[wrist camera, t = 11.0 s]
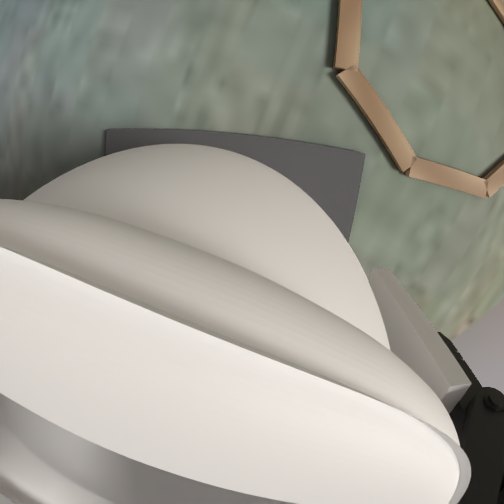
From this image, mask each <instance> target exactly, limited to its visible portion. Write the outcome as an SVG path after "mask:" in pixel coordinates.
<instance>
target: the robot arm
mask: <svg viewBox="0 0 504 504" xmlns="http://www.w3.org/2000/svg"><path fill="white" fill-rule="evenodd" d="M369 284H370V286H371V289H372V291H373V294H374V296H375V299H376V301H377V304H378V307H379V310H380V313H381V316H382V319H383V322H384V326H385V329H386V333H387V337H388V341H389V345H390V350H391V352H393V353H394V354H395V355H396V356H397V357H399V358H400V359H401V360H402V361H403V362H404V363H406V364H407V365H408V366H409V367H410V368H411V369H412V370H413V371H414V372H415V373H416V374H417V375H418V376H419V377H420V378H421V379H422V380H423V381H424V382H425V383H426V384H427V385H428V386H429V387H430V388H431V389H432V390H433V392H434V393H435V394H436V395H437V396H438V398H439V399H440V401H441V402H442V403H443V405H444V407H445V408H446V410H447V412H448V414H449V416H450V418H451V420H452V422H453V424H454V427H455V429H456V432H457V435H458V439H459V443H460V447H461V448H462V449H463V451H464V452H465V453H466V455H467V457H468V459H469V462H470V465H471V478H470V482H469V485H468V488H467V490H466V492H465V493H464V495H463V496H462V498H461V499H460V501H459V502H458V503H457V504H504V395H503V394H502V393H501V392H500V391H498V390H497V389H495V388H491V387H483V388H482V386H481V384H480V383H479V381H478V380H477V378H476V377H475V375H474V374H473V373H472V371H471V369H470V368H469V366H468V365H467V364H466V362H465V361H463V358H462V356H461V355H460V353H457V351H458V350H457V349H456V348H455V346H454V345H453V343H452V342H451V341H450V340H449V339H448V338H447V337H445V336H444V335H443V334H442V333H440V332H437V331H436V330H435V329H434V327H433V326H432V324H431V323H430V322H429V320H428V319H427V318H426V316H425V315H424V314H423V312H422V311H421V310H420V308H419V307H418V306H417V304H416V303H415V302H414V300H413V299H412V298H411V296H410V295H409V294H408V293H407V291H406V290H405V289H404V287H403V286H402V285H401V284H400V282H399V281H398V280H397V279H396V277H395V276H394V275H393V274H392V272H391V271H390V270H389V269H382V268H372V271H371V275H370V278H369Z"/></svg>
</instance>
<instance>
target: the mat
mask: <svg viewBox="0 0 504 504" xmlns="http://www.w3.org/2000/svg"><path fill="white" fill-rule="evenodd" d="M159 144H195V145H204V146H210V147H215V148H220V149H224V150H228V151H232V152H235V153H238V154H241V155H244V156H246V157H249V158H251V159H254V160H256V161H258V162H260V163H262V164H264V165H266V166H268V167H270V168H272V169H273V170H275V171H277V172H278V173H280V174H282V175H283V176H285V177H286V178H287V179H289V180H290V181H292V182H293V183H294V184H296V185H297V186H298V187H299V188H301V189H302V190H303V191H304V192H305V193H306V194H307V195H309V196H310V197H311V198H312V199H313V200H314V201H315V202H316V203H317V204H318V205H319V206H320V207H321V208H322V209H323V211H324V212H325V213H326V214H327V215H328V216H329V218H330V219H331V220H332V221H333V222H334V224H335V225H336V226H337V228H338V229H339V230H340V232H341V233H342V235H343V236H344V238H345V239H346V241H347V242H348V241H349V237H350V232H351V227H352V223H353V218H354V213H355V208H356V203H357V198H358V193H359V188H360V182H361V176H362V171H363V165H364V159H365V154H364V153H360V152H355V151H350V150H345V149H340V148H335V147H329V146H324V145H318V144H312V143H306V142H299V141H293V140H286V139H279V138H271V137H263V136H254V135H245V134H235V133H223V132H210V131H195V130H174V129H107V130H106V149H105V156H107V155H110V154H113V153H116V152H120V151H124V150H128V149H132V148H137V147H143V146H150V145H159Z"/></svg>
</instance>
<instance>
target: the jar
mask: <svg viewBox="0 0 504 504" xmlns="http://www.w3.org/2000/svg"><path fill="white" fill-rule="evenodd" d="M470 478H471V465H470V462H469V459H468V457H467V455H466V453H465V452H464V451H463V449H462V448H461V447H460V443H459V439H458V435H457V432H456V429H455V427H454V424H453V422H452V420H451V418H450V416H449V414H448V412H447V410H446V408H445V407H444V405H443V403H442V402H441V401H440V399H439V398H438V396H437V395H436V394H435V393H434V392H433V390H432V389H431V388H430V387H429V386H428V385H427V384H426V383H425V382H424V381H423V380H422V379H421V378H420V377H419V376H418V375H417V374H416V373H415V372H414V371H413V370H412V369H411V368H410V367H409V366H408V365H407V364H406V363H404V362H403V361H402V360H401V359H400V358H399V357H397V356H396V355H395V354H394V353H393V352H391V350H390V345H389V341H388V337H387V333H386V329H385V326H384V322H383V319H382V316H381V313H380V310H379V307H378V304H377V301H376V299H375V296H374V294H373V291H372V289H371V286H370V284H369V282H368V279H367V277H366V275H365V273H364V271H363V269H362V267H361V265H360V263H359V261H358V259H357V257H356V256H355V254H354V252H353V250H352V249H351V247H350V245H349V244H348V242H347V241H346V239H345V238H344V236H343V235H342V233H341V232H340V230H339V229H338V228H337V226H336V225H335V224H334V222H333V221H332V220H331V219H330V218H329V216H328V215H327V214H326V213H325V212H324V211H323V209H322V208H321V207H320V206H319V205H318V204H317V203H316V202H315V201H314V200H313V199H312V198H311V197H310V196H309V195H307V194H306V193H305V192H304V191H303V190H302V189H301V188H299V187H298V186H297V185H296V184H294V183H293V182H292V181H290V180H289V179H287V178H286V177H285V176H283V175H282V174H280V173H278V172H277V171H275V170H273V169H272V168H270V167H268V166H266V165H264V164H262V163H260V162H258V161H256V160H254V159H251V158H249V157H246V156H244V155H241V154H238V153H235V152H232V151H228V150H224V149H220V148H215V147H210V146H204V145H195V144H159V145H150V146H143V147H137V148H132V149H128V150H124V151H120V152H116V153H113V154H110V155H107V156H104V157H101V158H98V159H95V160H93V161H90V162H88V163H86V164H83V165H81V166H79V167H77V168H75V169H73V170H71V171H69V172H67V173H65V174H63V175H61V176H59V177H57V178H56V179H54V180H52V181H51V182H49V183H47V184H46V185H44V186H42V187H41V188H39V189H38V190H36V191H35V192H33V193H32V194H31V195H29V196H28V197H27V198H25V199H24V200H23V201H22V200H12V199H0V493H1V494H2V495H4V496H5V497H6V498H8V499H9V500H10V501H12V502H13V503H15V504H457V503H458V502H459V501H460V499H461V498H462V496H463V495H464V493H465V492H466V490H467V488H468V485H469V482H470Z"/></svg>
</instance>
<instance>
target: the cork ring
mask: <svg viewBox="0 0 504 504" xmlns="http://www.w3.org/2000/svg"><path fill="white" fill-rule="evenodd" d="M488 1H489V3H490V4H491V6H492V7H493V9H494V10H495V12H496V13H497V15H498V16H499V18H500V19H501V21H502V23H503V24H504V3H503V2H502V0H488ZM361 15H362V0H339V5H338V19H337V32H336V43H335V54H334V64H333V69H338V70H342V71H343V72H341V73H339V74H338V75H337V76H336V78H337V79H338V80H339V81H340V83H341V84H342V85H343V87H344V88H345V89H346V91H347V92H348V93H349V95H350V96H351V97H352V99H353V100H354V101H355V103H356V104H357V106H358V107H359V108H360V110H361V111H362V113H363V114H364V115H365V117H366V118H367V120H368V121H369V123H370V124H371V126H372V127H373V129H374V130H375V132H376V133H377V135H378V136H379V138H380V140H381V141H382V143H383V144H384V146H385V147H386V149H387V151H388V152H389V154H390V156H391V157H392V159H393V161H394V162H395V164H396V166H397V167H398V169H399V171H401V172H404V171H406V174H405V176H408V177H412V178H416V179H420V180H423V181H427V182H431V183H435V184H438V185H442V186H445V187H449V188H452V189H456V190H459V191H462V192H466V193H469V194H472V195H475V196H478V197H481V198H484V199H485V197H486V196H487V197H491V196H492V195H493V194H494V193H495V192H496V191H497V190H498V189H499V188H501V187H502V186H503V185H504V159H503V160H502V161H501V162H500V163H499V164H498V165H497V166H496V167H494V168H493V169H492V170H491V171H490V172H489V173H488V174H487V175H485V176H484V177H483V178H479V177H477V176H474V175H471V174H468V173H465V172H463V171H460V170H457V169H454V168H451V167H447V166H444V165H441V164H438V163H435V162H431V161H428V160H425V159H421V158H418V157H416V156H415V154H414V152H413V150H412V149H411V147H410V145H409V143H408V142H407V140H406V138H405V136H404V135H403V133H402V132H401V130H400V128H399V127H398V125H397V123H396V122H395V120H394V119H393V117H392V116H391V114H390V112H389V111H388V109H387V108H386V106H385V105H384V103H383V102H382V100H381V99H380V97H379V96H378V95H377V93H376V92H375V90H374V89H373V88H372V86H371V85H370V83H369V82H368V81H367V79H366V78H365V77H364V75H363V74H362V73H361V71H360V70H359V69H358V59H359V47H360V33H361Z"/></svg>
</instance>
